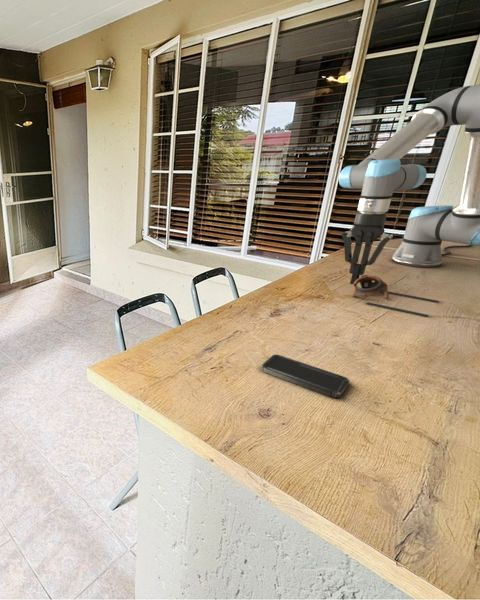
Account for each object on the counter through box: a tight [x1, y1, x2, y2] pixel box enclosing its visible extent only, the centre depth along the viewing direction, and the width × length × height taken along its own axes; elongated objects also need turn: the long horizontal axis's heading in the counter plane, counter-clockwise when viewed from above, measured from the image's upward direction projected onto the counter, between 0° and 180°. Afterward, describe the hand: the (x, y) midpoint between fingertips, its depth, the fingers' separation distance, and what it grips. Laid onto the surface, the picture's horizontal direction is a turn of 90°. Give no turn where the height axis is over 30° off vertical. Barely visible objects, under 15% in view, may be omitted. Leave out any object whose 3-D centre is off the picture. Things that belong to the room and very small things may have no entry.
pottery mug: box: [350, 274, 390, 300], centre depth 115 cm, size 12×10×8 cm
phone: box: [261, 354, 350, 399], centre depth 76 cm, size 8×1×15 cm
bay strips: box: [366, 291, 440, 318], centre depth 109 cm, size 16×14×1 cm
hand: (353, 283), depth 118 cm, fingers closed
